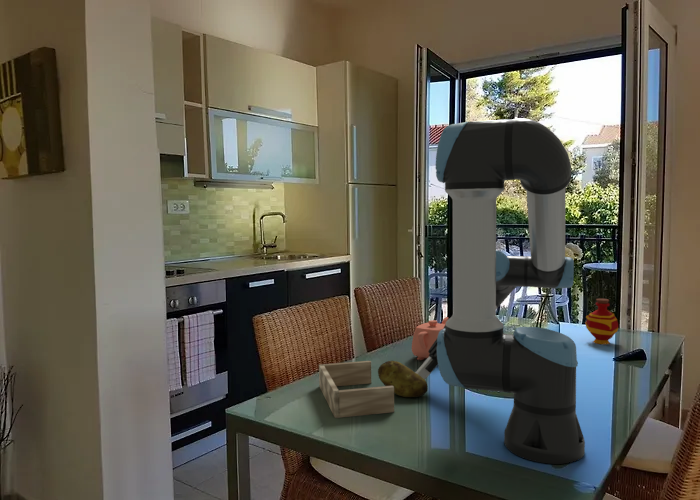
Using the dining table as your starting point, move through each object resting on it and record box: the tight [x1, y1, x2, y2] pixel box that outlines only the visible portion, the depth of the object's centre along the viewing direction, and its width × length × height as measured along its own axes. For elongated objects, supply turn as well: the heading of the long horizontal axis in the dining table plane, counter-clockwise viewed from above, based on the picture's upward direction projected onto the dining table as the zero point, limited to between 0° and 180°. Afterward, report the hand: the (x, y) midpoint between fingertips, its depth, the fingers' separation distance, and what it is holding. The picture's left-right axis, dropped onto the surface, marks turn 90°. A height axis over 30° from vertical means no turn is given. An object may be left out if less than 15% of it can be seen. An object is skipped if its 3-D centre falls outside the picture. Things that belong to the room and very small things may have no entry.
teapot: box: [411, 316, 449, 361], centre depth 171 cm, size 20×12×12 cm, turn 145°
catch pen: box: [318, 360, 395, 419], centre depth 137 cm, size 22×14×6 cm, turn 12°
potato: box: [377, 360, 429, 398], centre depth 139 cm, size 8×13×8 cm, turn 40°
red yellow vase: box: [584, 298, 619, 345], centre depth 186 cm, size 10×10×15 cm
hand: (417, 379), depth 142 cm, fingers closed
